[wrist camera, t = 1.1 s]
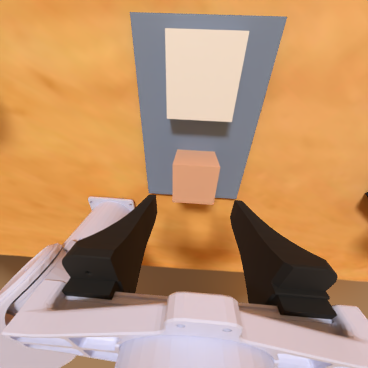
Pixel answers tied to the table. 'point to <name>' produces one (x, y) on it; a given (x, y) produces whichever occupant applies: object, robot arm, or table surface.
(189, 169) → the terracotta block
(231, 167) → the board
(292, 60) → the table surface
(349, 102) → the table surface
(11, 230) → the table surface
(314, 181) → the table surface
